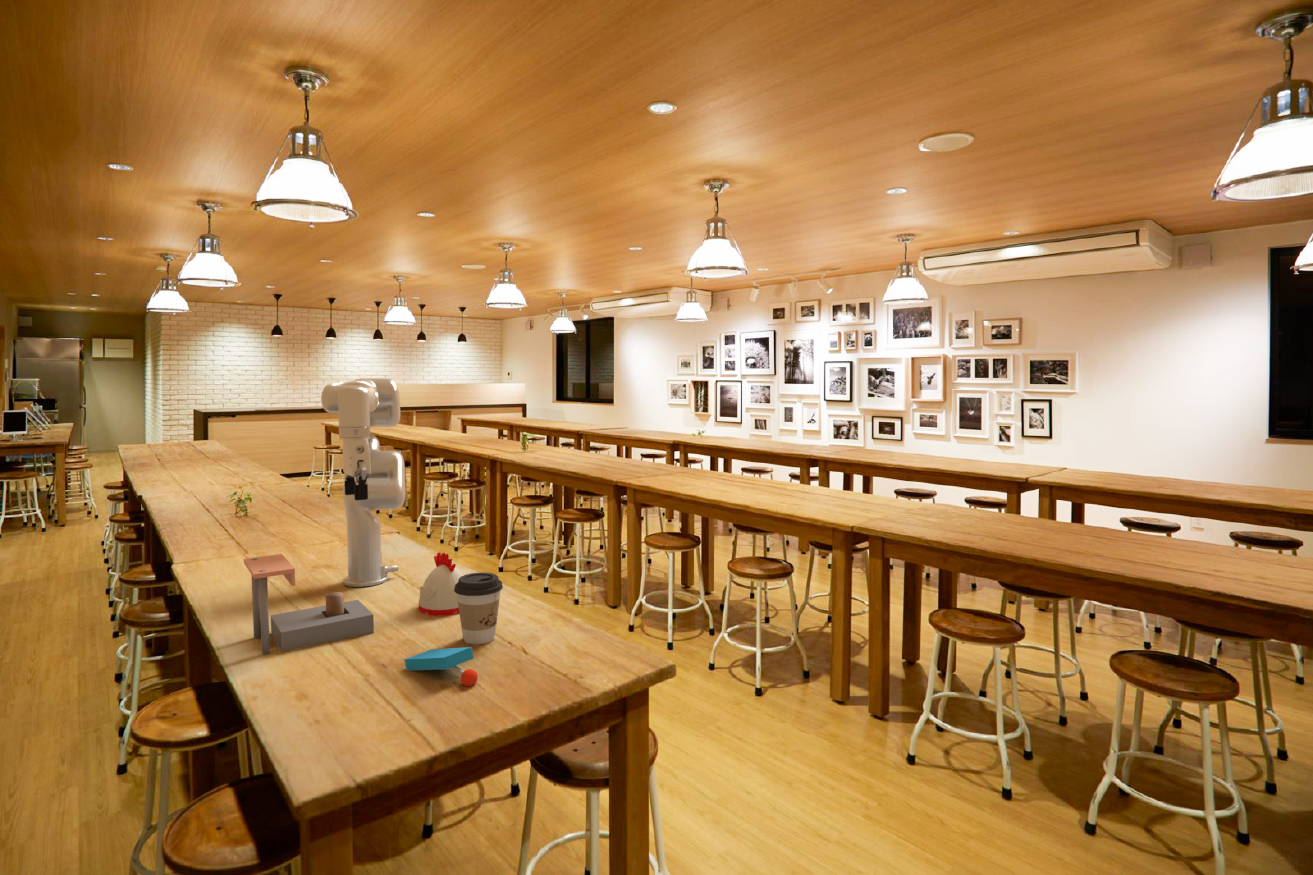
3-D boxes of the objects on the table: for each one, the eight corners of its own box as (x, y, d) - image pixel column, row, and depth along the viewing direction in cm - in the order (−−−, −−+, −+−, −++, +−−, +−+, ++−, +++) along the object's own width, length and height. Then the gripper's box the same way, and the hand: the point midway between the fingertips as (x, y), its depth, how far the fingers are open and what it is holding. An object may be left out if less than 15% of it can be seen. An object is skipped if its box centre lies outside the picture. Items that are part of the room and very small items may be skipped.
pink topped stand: (284, 629, 168) (281, 553, 166) (297, 650, 155) (294, 568, 154) (246, 636, 163) (243, 558, 161) (257, 658, 150) (253, 574, 149)
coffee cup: (478, 652, 155) (477, 587, 154) (444, 641, 161) (443, 579, 160) (513, 636, 165) (513, 575, 164) (480, 627, 171) (479, 568, 170)
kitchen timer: (450, 596, 195) (449, 544, 194) (482, 605, 187) (481, 552, 186) (408, 609, 184) (406, 554, 183) (440, 619, 176) (439, 563, 175)
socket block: (358, 616, 177) (357, 599, 177) (373, 632, 166) (373, 614, 166) (271, 633, 165) (270, 615, 165) (281, 651, 154) (281, 632, 154)
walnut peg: (342, 626, 170) (341, 591, 170) (346, 630, 167) (345, 595, 167) (324, 629, 168) (323, 594, 167) (328, 634, 165) (327, 598, 164)
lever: (410, 692, 145) (462, 692, 135) (404, 659, 146) (455, 656, 136) (437, 681, 151) (489, 680, 141) (431, 649, 152) (482, 646, 141)
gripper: (378, 435, 176) (380, 500, 177) (360, 430, 189) (362, 491, 191) (348, 436, 171) (349, 503, 172) (331, 431, 185) (333, 494, 186)
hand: (356, 497), depth 182 cm, fingers open, 9 cm apart
